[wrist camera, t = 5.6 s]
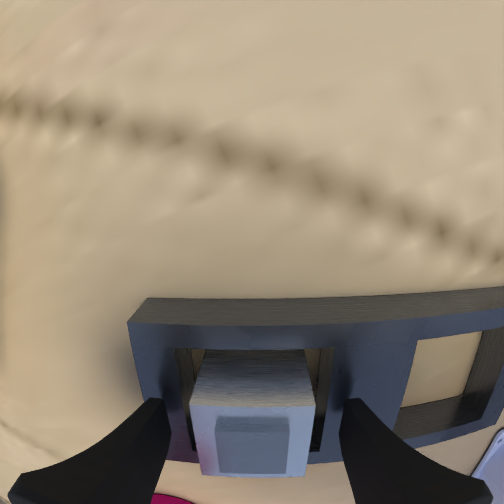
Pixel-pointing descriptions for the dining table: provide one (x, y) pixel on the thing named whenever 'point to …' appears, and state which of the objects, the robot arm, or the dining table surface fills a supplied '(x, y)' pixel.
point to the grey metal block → (253, 413)
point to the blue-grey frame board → (329, 357)
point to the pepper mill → (167, 500)
